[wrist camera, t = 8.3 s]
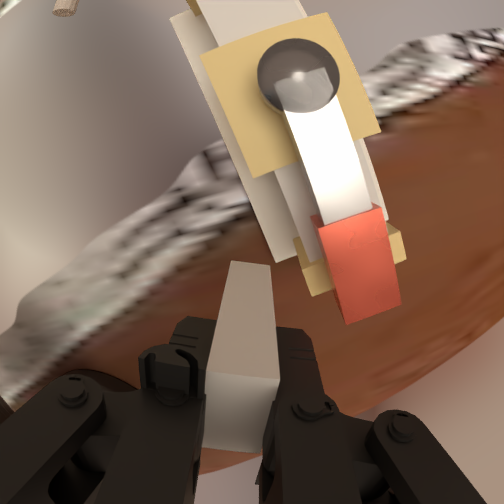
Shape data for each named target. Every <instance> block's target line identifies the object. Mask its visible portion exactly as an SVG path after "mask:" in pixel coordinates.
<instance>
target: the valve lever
mask: <svg viewBox="0 0 504 504" xmlns="http://www.w3.org/2000/svg"><path fill="white" fill-rule="evenodd" d="M257 80H258V89H259V93H260V95H261V98H262V99H263V101H264V102H265V104H266V105H267V106H268V107H269V108H270V109H271V110H273V111H274V112H276V113H278V114H279V115H281V116H282V118H283V121H284V123H285V126H286V129H287V131H288V134H289V137H290V139H291V142H292V145H293V147H294V150H295V153H296V155H297V158H298V161H299V164H300V167H301V169H302V172H303V175H304V178H305V181H306V184H307V187H308V190H309V193H310V196H311V199H312V201H313V205H314V208H315V211H316V214H315V215H312V216H310V219H311V222H312V225H313V228H314V231H315V234H316V237H317V240H318V243H319V246H320V250H321V253H322V256H323V259H324V262H325V266H326V269H327V272H328V276H329V279H330V282H331V286H332V289H333V293H334V296H335V300H336V303H337V305H338V307H339V310H340V312H341V314H342V317H343V319H344V321H345V324H346V325H347V324H350V323H353V322H356V321H359V320H361V319H364V318H367V317H370V316H372V315H375V314H378V313H380V312H383V311H385V310H388V309H391V308H393V307H396V306H398V305H401V299H400V293H399V287H398V281H397V276H396V270H395V265H394V260H393V255H392V250H391V246H390V241H389V236H388V232H387V228H386V224H385V219H384V215H383V211H382V207H380V206H378V205H377V204H375V203H373V202H371V200H370V196H369V193H368V189H367V186H366V182H365V179H364V176H363V172H362V169H361V166H360V163H359V159H358V156H357V153H356V150H355V147H354V144H353V141H352V138H351V135H350V132H349V129H348V126H347V124H346V121H345V118H344V115H343V113H342V110H341V107H340V104H339V102H338V99H337V97H336V93H337V91H338V88H339V84H340V73H339V69H338V66H337V63H336V61H335V59H334V58H333V57H332V55H331V54H330V53H329V52H328V51H327V50H326V49H325V48H324V47H322V46H321V45H319V44H317V43H315V42H313V41H310V40H307V39H301V38H291V39H285V40H282V41H279V42H277V43H275V44H273V45H272V46H270V47H269V48H268V49H267V50H266V51H265V52H264V54H263V55H262V57H261V59H260V61H259V64H258V68H257Z"/></svg>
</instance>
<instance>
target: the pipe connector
mask: <svg viewBox="0 0 504 504" xmlns="http://www.w3.org/2000/svg"><path fill="white" fill-rule="evenodd" d="M78 2H79V0H57V1H56V4H55V7H54V9H53V14H54V15H56V16H62V17H67V16H72V15H74V14H75V12H76V8H77V5H78Z"/></svg>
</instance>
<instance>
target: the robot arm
mask: <svg viewBox="0 0 504 504" xmlns="http://www.w3.org/2000/svg"><path fill="white" fill-rule="evenodd" d="M138 361H139V373H140V383H141V389H138V390H136V389H134V388H133V387H131V386H130V385H128V384H126V383H124V382H122V381H121V380H119V379H116V378H114V377H112V376H109V375H106V374H103V373H100V372H96V371H91V370H74V371H70V372H68V373H66V374H65V375H64V376H60V377H58V378H57V379H55V380H53V381H52V382H50V383H49V384H48V385H47V386H46V387H44V388H43V389H42V390H41V391H40V392H38V393H37V394H36V395H35V396H34V397H32V398H31V399H30V400H29V401H28V402H26V403H25V404H24V405H23V406H22V407H21V408H19V409H18V410H17V411H16V412H14V411H13V410H12V409H11V408H10V407H9V405H8V404H7V403H6V402H5V401H4V399H3V398H2V397H1V396H0V504H194V499H195V492H196V486H197V480H198V474H199V468H200V454H201V448H202V447H206V448H213V449H220V450H228V451H237V452H248V453H260V452H261V449H262V445H263V459H262V463H261V466H260V469H259V472H258V475H257V479H256V482H255V484H258V485H259V504H487V503H486V502H485V501H484V499H483V498H482V497H481V496H480V494H479V493H478V492H477V490H476V489H475V488H474V487H473V485H472V484H471V483H470V482H469V480H468V479H467V477H466V476H465V475H464V474H463V472H462V471H461V470H460V468H459V467H458V466H457V465H456V463H455V462H454V461H453V460H452V458H451V457H450V456H449V455H448V453H447V452H446V451H445V450H444V448H443V447H442V446H441V444H440V443H439V442H438V441H437V439H436V438H435V437H434V436H433V434H432V433H431V432H430V431H429V429H428V428H427V427H426V426H425V424H424V423H423V422H422V421H420V419H418V418H417V417H416V416H415V415H413V414H410V413H408V412H407V411H401V410H387V411H385V412H383V413H381V414H379V415H378V417H377V418H376V420H375V421H374V422H371V421H366V420H362V419H358V418H353V417H350V416H347V415H345V414H343V413H341V412H339V409H338V407H337V405H336V403H335V402H334V401H333V400H332V399H331V398H330V397H328V396H327V395H325V393H324V389H323V385H322V381H321V377H320V373H319V369H318V365H317V361H316V357H315V353H314V349H313V345H312V341H311V338H310V337H309V336H308V335H307V334H306V333H305V332H304V331H303V330H302V329H294V328H285V327H276V325H275V314H274V303H273V292H272V282H271V271H270V265H263V264H255V263H247V262H240V261H232V260H231V264H230V268H229V272H228V276H227V281H226V285H225V289H224V293H223V298H222V302H221V306H220V311H219V315H218V320H211V319H204V318H197V317H191V316H187V317H186V318H184V319H183V320H181V321H180V322H179V323H177V325H176V328H175V330H174V332H173V336H172V337H171V339H170V342H169V344H163V345H158V346H153V347H151V348H149V349H147V350H145V351H144V352H143V353H142V354H141V355H140V356H139V357H138Z"/></svg>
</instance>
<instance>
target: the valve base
mask: <svg viewBox="0 0 504 504" xmlns="http://www.w3.org/2000/svg"><path fill="white" fill-rule="evenodd" d="M186 1H187V3H188V4H189V6H190V8H191V9H189V10H187V11H185V12H182V13H180V14H178V15H176V16H174V17H171V18H170V21H171V23H172V26H173V28H174V30H175V32H176V34H177V36H178V39H179V41H180V43H181V45H182V48H183V49H184V52H185V54H186V56H187V58H188V60H189V63H190V65H191V67H192V70H193V72H194V74H195V76H196V79H197V81H198V83H199V85H200V87H201V90H202V92H203V94H204V96H205V99H206V101H207V103H208V105H209V108H210V110H211V112H212V115H213V117H214V119H215V121H216V123H217V126H218V128H219V130H220V133H221V135H222V137H223V140H224V142H225V144H226V147H227V149H228V151H229V153H230V156H231V158H232V160H233V163H234V165H235V167H236V170H237V172H238V174H239V177H240V179H241V181H242V184H243V186H244V188H245V191H246V193H247V195H248V198H249V200H250V202H251V205H252V207H253V210H254V212H255V214H256V217H257V219H258V221H259V224H260V226H261V228H262V231H263V233H264V236H265V238H266V240H267V243H268V245H269V248H270V250H271V252H272V255H273V257H274V260H275V262H276V263H277V262H280V261H282V260H285V259H288V258H290V257H293V256H295V255H298V259H299V262H300V265H301V269H302V272H303V274H304V277H305V280H306V282H307V285H308V287H309V290H310V293H311V295H312V296H315V295H318V294H320V293H323V292H326V291H328V290H331V289H332V286H331V282H330V279H329V276H328V272H327V269H326V266H325V262H324V259H323V256H322V253H321V250H320V246H319V243H318V240H317V237H316V234H315V231H314V228H313V225H312V222H311V219H310V216H312V215H315V214H316V211H315V208H314V205H313V201H312V199H311V196H310V193H309V190H308V187H307V184H306V181H305V178H304V175H303V172H302V169H301V167H300V164H299V161H298V158H297V155H296V153H295V150H294V147H293V145H292V142H291V139H290V137H289V134H288V131H287V129H286V126H285V123H284V121H283V118H282V116H281V115H279V114H278V113H276V112H274V111H273V110H271V109H270V108H269V107H268V106H267V105H266V104H265V102H264V101H263V99H262V98H261V95H260V93H259V89H258V80H257V68H258V64H259V61H260V59H261V57H262V55H263V54H264V52H265V51H266V50H267V49H268V48H269V47H270V46H272V45H273V44H275V43H277V42H279V41H282V40H285V39H291V38H301V39H307V40H310V41H313V42H315V43H317V44H319V45H321V46H322V47H324V48H325V49H326V50H327V51H328V52H329V53H330V54H331V55H332V57H333V58H334V59H335V61H336V63H337V66H338V69H339V73H340V84H339V88H338V91H337V93H336V97H337V99H338V102H339V104H340V107H341V110H342V113H343V115H344V118H345V121H346V124H347V126H348V129H349V132H350V135H351V138H352V141H353V144H354V147H355V150H356V153H357V156H358V159H359V163H360V166H361V169H362V172H363V176H364V179H365V182H366V186H367V189H368V193H369V196H370V200H371V202H373V203H375V204H377V205H378V206H380V207H382V211H383V215H384V219H385V224H386V228H387V232H388V236H389V241H390V246H391V250H392V255H393V260H394V264H396V263H398V262H401V261H403V260H406V255H405V250H404V246H403V242H402V237H401V233H400V231H399V230H397V229H396V228H394V227H393V226H392V225H390V224H389V223H387V222H386V220H388V215H387V211H386V208H385V204H384V201H383V198H382V194H381V191H380V188H379V185H378V181H377V178H376V175H375V172H374V169H373V166H372V163H371V160H370V157H369V154H368V151H367V149H366V146H365V143H364V140H363V138H364V137H367V136H370V135H373V134H376V133H379V132H381V130H380V127H379V125H378V122H377V119H376V117H375V114H374V111H373V109H372V106H371V104H370V101H369V99H368V96H367V94H366V92H365V89H364V87H363V85H362V82H361V80H360V78H359V75H358V73H357V71H356V69H355V66H354V64H353V62H352V60H351V58H350V56H349V54H348V52H347V50H346V47H345V45H344V43H343V42H342V40H341V37H340V36H339V34H338V32H337V30H336V28H335V26H334V24H333V22H332V20H331V18H330V17H329V15H328V13H322V14H318V15H314V16H310V17H308V16H307V14H306V12H305V11H304V9H303V7H302V5H301V4H300V2H299V0H186Z"/></svg>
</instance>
